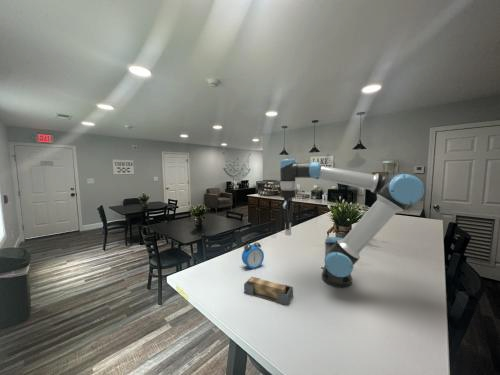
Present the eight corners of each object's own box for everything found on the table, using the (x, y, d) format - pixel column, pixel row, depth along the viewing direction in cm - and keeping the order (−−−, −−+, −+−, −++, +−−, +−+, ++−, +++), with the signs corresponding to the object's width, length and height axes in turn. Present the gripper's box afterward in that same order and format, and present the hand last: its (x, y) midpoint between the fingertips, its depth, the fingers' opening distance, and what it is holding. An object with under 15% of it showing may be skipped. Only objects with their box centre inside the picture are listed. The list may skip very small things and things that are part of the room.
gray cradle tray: (292, 296, 95) (292, 286, 95) (287, 306, 88) (287, 295, 87) (251, 285, 105) (251, 276, 105) (244, 293, 98) (244, 283, 98)
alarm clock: (246, 271, 120) (245, 247, 119) (241, 267, 126) (241, 244, 125) (264, 266, 127) (264, 243, 126) (259, 262, 132) (258, 240, 131)
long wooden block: (286, 295, 94) (285, 285, 94) (283, 300, 91) (283, 289, 90) (252, 286, 103) (251, 277, 102) (248, 290, 99) (248, 280, 99)
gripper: (284, 188, 110) (285, 231, 111) (276, 190, 98) (276, 237, 100) (298, 188, 106) (298, 232, 108) (291, 190, 95) (291, 239, 96)
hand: (288, 235), depth 104 cm, fingers closed
